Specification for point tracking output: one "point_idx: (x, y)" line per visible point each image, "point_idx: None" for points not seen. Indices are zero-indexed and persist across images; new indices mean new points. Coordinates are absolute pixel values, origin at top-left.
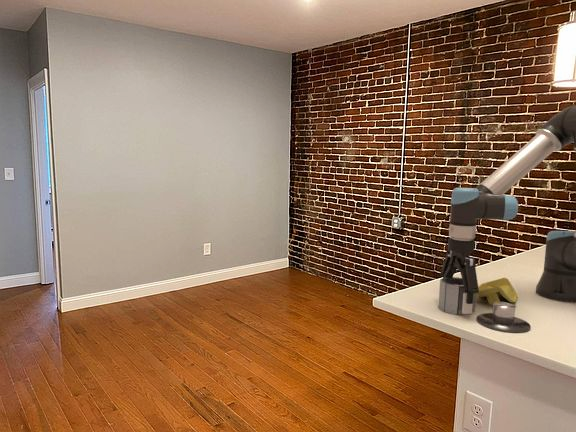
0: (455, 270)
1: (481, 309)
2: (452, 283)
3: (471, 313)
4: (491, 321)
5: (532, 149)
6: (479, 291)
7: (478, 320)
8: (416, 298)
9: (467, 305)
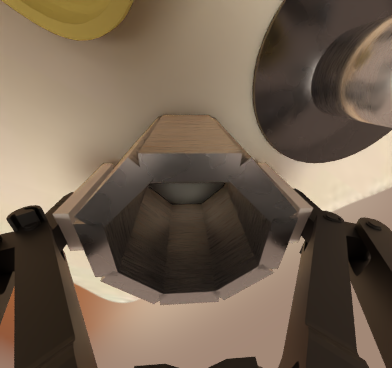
0: (64, 291)
1: (189, 68)
2: (121, 225)
3: (265, 163)
4: (327, 120)
5: None
6: (111, 30)
7: (304, 160)
8: None
9: None
